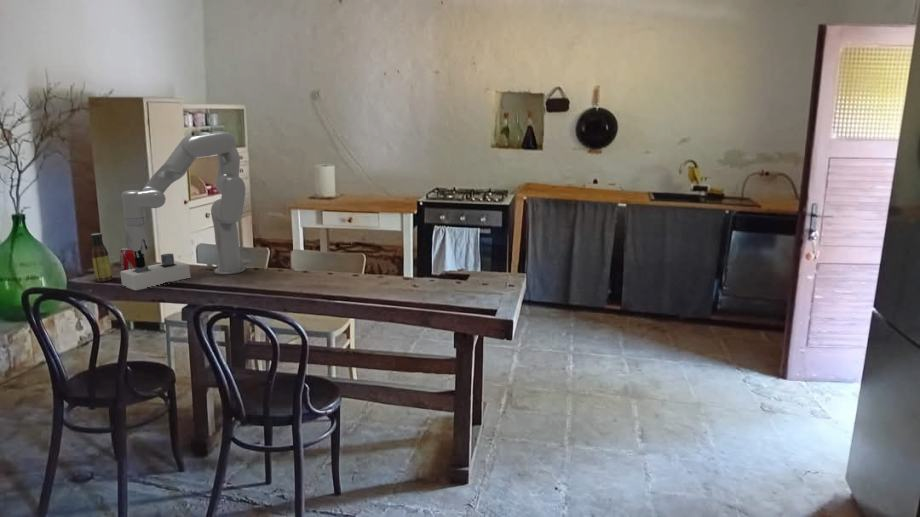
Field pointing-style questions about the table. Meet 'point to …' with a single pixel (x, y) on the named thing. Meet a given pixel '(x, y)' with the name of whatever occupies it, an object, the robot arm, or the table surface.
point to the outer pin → (141, 269)
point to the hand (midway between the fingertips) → (140, 266)
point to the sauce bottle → (100, 259)
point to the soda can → (127, 259)
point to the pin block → (154, 275)
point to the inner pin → (167, 260)
